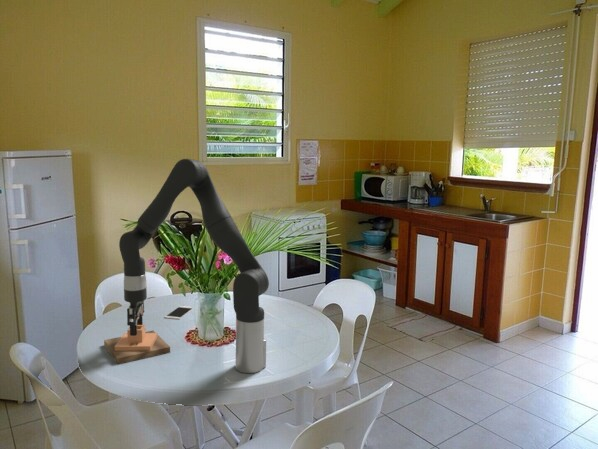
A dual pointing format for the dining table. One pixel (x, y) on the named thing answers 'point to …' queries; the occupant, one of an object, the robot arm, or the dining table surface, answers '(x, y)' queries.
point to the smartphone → (179, 312)
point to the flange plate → (136, 340)
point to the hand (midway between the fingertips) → (136, 330)
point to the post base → (127, 356)
